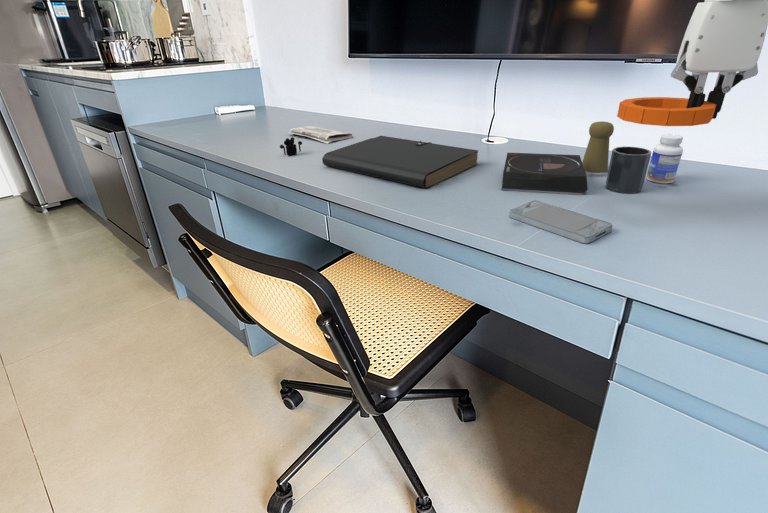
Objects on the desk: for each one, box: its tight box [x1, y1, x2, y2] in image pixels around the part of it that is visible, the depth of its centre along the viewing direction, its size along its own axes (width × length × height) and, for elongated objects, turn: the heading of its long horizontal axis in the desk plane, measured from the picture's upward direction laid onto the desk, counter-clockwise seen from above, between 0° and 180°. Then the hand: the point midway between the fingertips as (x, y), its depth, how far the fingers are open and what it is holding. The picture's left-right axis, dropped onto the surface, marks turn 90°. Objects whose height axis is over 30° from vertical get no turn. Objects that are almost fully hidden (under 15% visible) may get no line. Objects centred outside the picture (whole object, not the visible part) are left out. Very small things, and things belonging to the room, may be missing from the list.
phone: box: [509, 200, 613, 245], centre depth 78 cm, size 8×16×1 cm, turn 37°
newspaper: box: [287, 125, 353, 145], centre depth 150 cm, size 23×12×2 cm, turn 43°
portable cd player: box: [501, 152, 588, 196], centre depth 98 cm, size 16×17×4 cm
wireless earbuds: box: [279, 136, 303, 157], centre depth 128 cm, size 7×2×5 cm, turn 126°
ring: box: [616, 96, 716, 127], centre depth 74 cm, size 14×14×2 cm
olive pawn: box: [582, 121, 615, 173], centre depth 103 cm, size 6×6×11 cm
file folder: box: [322, 135, 479, 189], centre depth 113 cm, size 33×4×24 cm
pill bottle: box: [646, 133, 684, 184], centre depth 94 cm, size 5×5×10 cm
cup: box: [604, 146, 652, 194], centre depth 91 cm, size 7×7×8 cm
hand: (701, 116), depth 73 cm, fingers closed on ring, 2 cm apart
